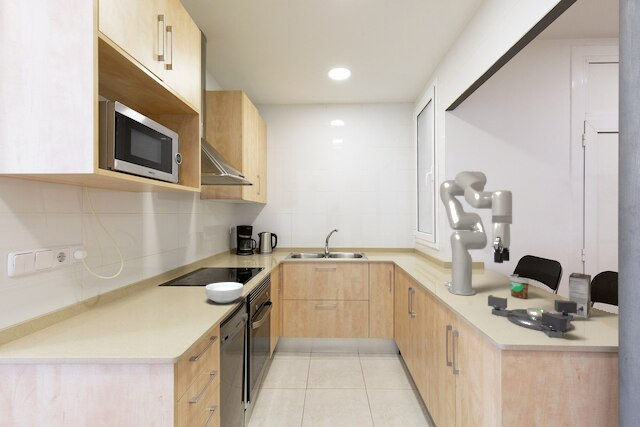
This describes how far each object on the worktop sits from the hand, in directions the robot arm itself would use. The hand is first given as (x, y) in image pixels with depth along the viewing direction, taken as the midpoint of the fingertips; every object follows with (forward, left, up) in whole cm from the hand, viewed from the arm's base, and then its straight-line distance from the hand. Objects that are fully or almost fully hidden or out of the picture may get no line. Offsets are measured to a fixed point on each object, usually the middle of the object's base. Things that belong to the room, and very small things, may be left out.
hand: (501, 261), depth 137 cm
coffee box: (+23, +22, -21) cm, 39 cm away
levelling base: (+11, -3, -21) cm, 24 cm away
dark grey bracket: (-1, -3, -18) cm, 18 cm away
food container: (-3, +34, -21) cm, 40 cm away
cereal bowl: (-95, -72, -22) cm, 121 cm away
